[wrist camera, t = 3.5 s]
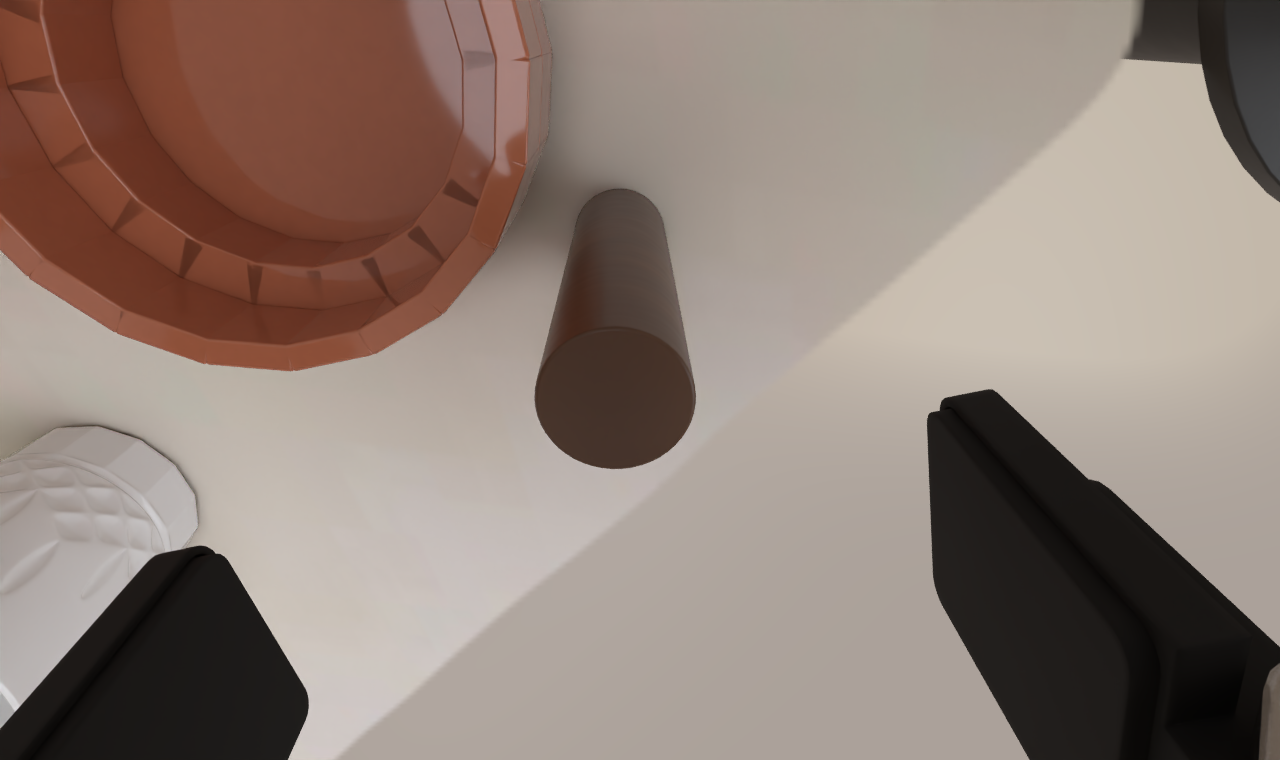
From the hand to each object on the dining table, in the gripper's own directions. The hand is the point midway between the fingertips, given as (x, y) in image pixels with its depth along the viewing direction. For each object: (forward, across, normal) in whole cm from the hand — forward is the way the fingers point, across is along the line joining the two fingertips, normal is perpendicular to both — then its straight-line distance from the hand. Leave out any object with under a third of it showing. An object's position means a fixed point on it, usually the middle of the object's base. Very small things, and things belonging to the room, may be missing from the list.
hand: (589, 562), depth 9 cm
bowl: (+16, +8, -7) cm, 19 cm away
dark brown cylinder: (+16, 0, 0) cm, 16 cm away
